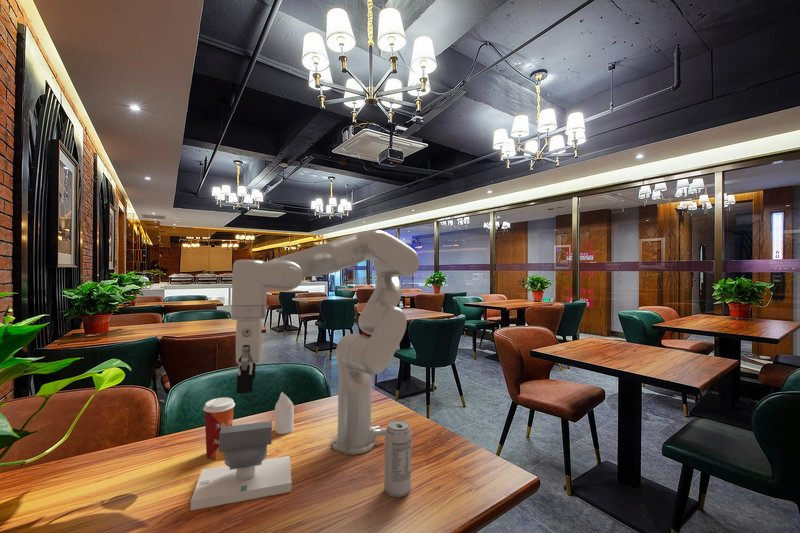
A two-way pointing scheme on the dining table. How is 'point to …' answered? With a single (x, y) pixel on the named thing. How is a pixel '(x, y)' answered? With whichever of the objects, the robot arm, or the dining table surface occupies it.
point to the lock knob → (244, 444)
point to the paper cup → (216, 422)
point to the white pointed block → (284, 415)
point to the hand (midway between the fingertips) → (246, 385)
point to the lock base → (242, 483)
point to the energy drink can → (397, 458)
